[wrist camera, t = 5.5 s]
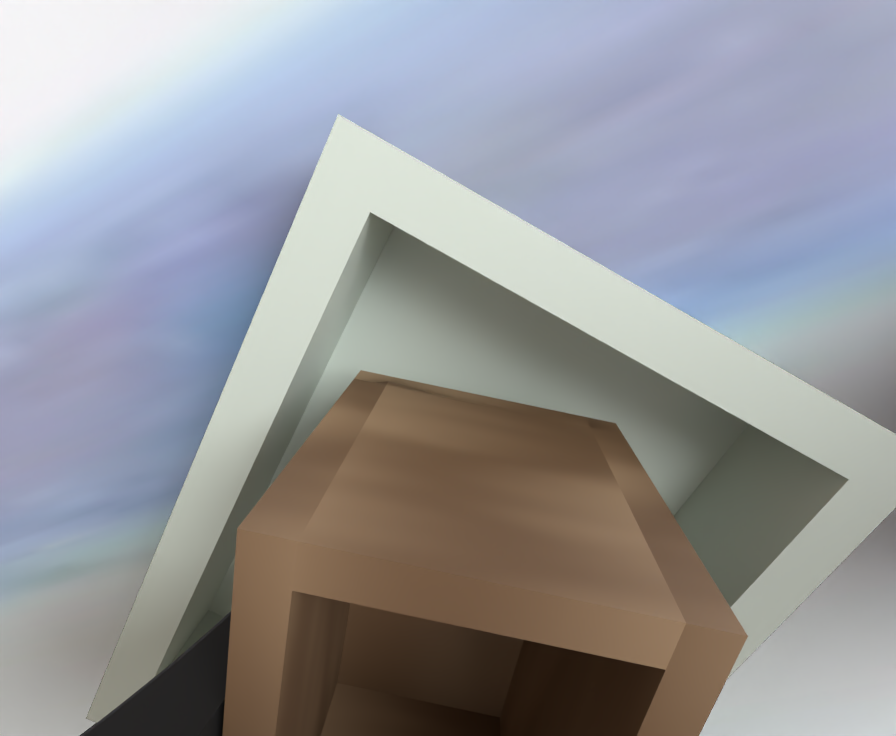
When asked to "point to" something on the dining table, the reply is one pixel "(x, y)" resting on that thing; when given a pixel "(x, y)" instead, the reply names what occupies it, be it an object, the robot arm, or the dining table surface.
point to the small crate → (469, 580)
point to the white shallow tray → (507, 395)
